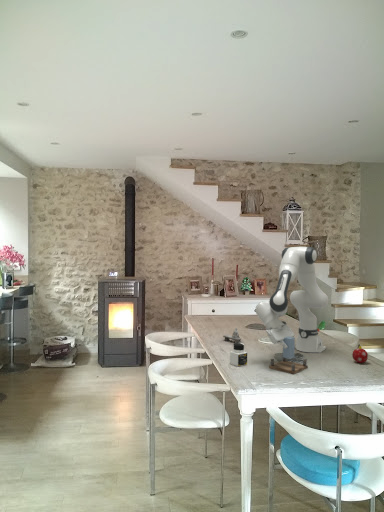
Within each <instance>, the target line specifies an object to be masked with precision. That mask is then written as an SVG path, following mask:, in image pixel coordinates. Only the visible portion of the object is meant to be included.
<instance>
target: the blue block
mask: <svg viewBox="0 0 384 512" xmlns="http://www.w3.org/2000/svg"><path fill="white" fill-rule="evenodd" d="M295 339H296V338H295V337H285V338H284V340H283V341H284V343H285V344H287V345H288V348H286V349H285V348H284V346H282V358H283V357H284V358H286V359H289V360H291V359H294V358H295V348H294V346H296V343H295V342H296V340H295Z"/></svg>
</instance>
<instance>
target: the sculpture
mask: <svg viewBox="0 0 384 512" xmlns="http://www.w3.org/2000/svg"><path fill="white" fill-rule="evenodd" d="M222 337H223V338H224V342H226V341H227V342H229V341H230V340H231V341H233V342H234V344H235V343H242V341H241V340H242V338H241V337H240V334H239V331H238V327H235V330H233V333H232V335H228V334H226V335H223V336H222Z"/></svg>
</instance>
